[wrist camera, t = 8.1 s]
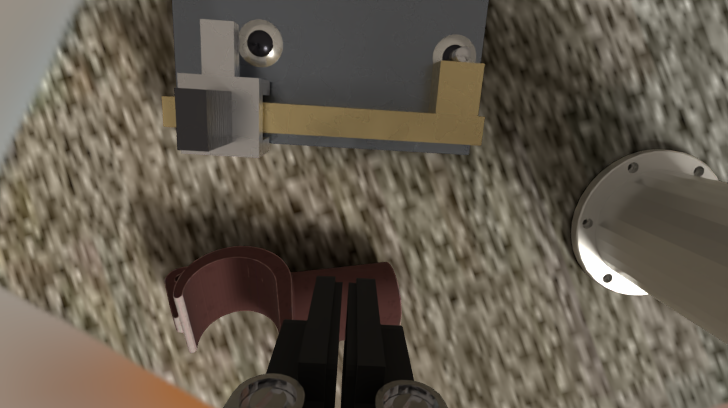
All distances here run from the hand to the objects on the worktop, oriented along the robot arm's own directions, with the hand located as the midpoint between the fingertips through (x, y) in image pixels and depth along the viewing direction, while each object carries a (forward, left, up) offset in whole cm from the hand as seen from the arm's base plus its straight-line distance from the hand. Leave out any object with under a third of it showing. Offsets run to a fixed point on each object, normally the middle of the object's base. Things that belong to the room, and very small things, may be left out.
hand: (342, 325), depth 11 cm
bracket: (+4, +10, -22) cm, 24 cm away
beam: (+1, -7, -21) cm, 22 cm away
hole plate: (+1, -9, -22) cm, 23 cm away
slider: (+8, -6, -20) cm, 23 cm away
